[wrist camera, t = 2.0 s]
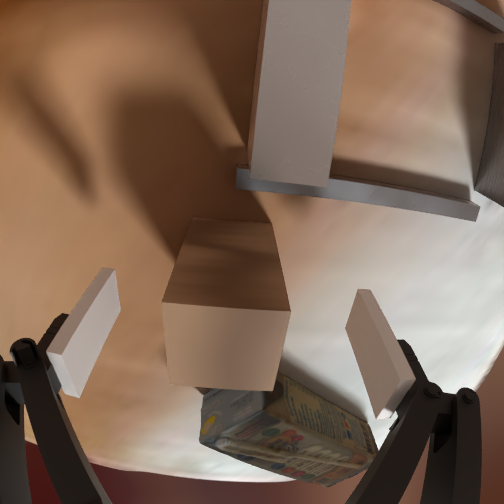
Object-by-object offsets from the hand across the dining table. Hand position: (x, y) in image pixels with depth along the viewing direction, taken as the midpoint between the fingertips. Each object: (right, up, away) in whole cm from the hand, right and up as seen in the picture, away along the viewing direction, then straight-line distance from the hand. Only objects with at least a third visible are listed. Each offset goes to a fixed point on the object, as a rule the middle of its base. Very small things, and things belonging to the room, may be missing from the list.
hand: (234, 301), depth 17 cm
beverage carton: (+5, -14, +14) cm, 20 cm away
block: (-1, +2, +5) cm, 5 cm away
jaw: (+3, +14, -1) cm, 14 cm away
